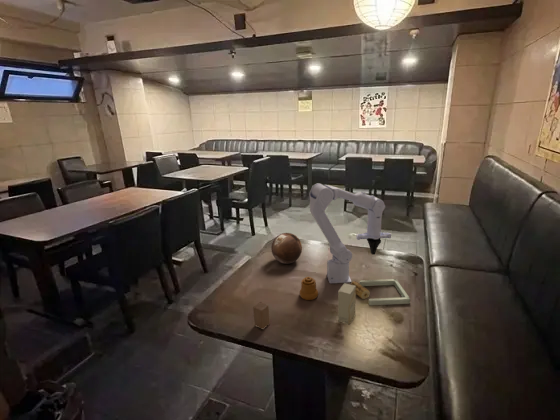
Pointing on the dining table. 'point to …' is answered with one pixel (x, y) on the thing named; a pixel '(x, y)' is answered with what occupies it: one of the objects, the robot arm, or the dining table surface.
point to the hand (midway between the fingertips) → (372, 253)
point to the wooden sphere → (286, 248)
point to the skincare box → (346, 303)
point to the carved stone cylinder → (361, 290)
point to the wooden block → (261, 315)
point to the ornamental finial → (308, 289)
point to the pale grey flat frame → (386, 301)
